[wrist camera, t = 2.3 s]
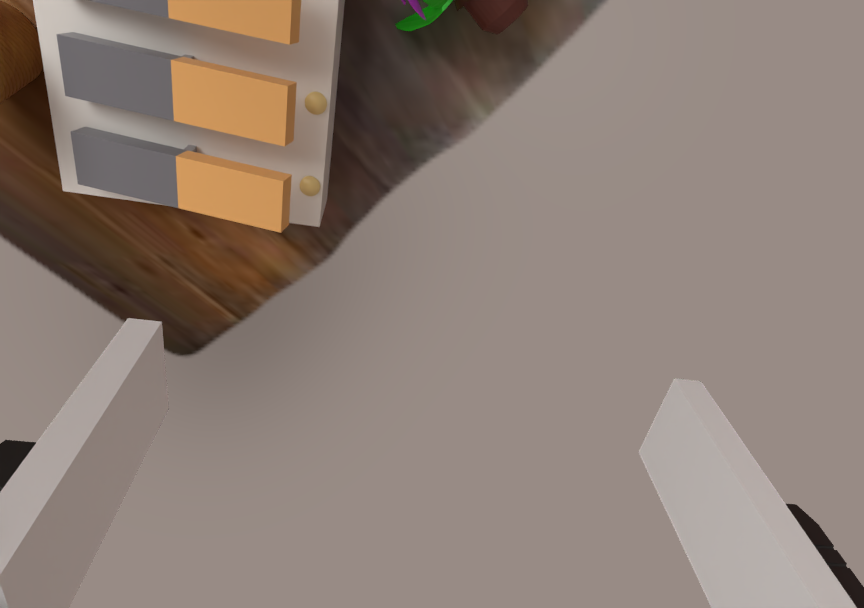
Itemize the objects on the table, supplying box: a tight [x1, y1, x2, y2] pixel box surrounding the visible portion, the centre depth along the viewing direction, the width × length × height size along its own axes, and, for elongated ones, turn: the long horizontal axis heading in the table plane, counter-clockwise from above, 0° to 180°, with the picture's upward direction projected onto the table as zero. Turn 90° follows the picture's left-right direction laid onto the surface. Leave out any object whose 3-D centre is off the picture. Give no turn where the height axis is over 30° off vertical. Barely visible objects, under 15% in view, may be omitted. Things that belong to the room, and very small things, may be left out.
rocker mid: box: [56, 32, 297, 147], centre depth 40 cm, size 16×4×2 cm, turn 80°
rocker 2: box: [71, 127, 292, 233], centre depth 43 cm, size 16×4×2 cm, turn 80°
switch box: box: [33, 0, 345, 227], centre depth 44 cm, size 20×20×8 cm
